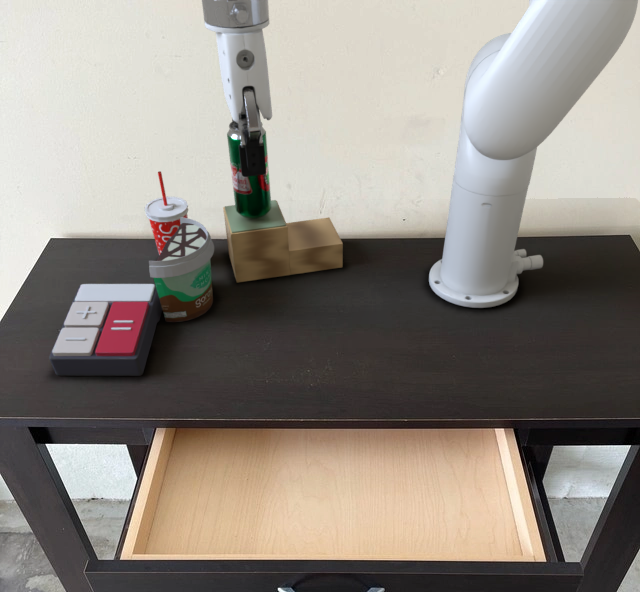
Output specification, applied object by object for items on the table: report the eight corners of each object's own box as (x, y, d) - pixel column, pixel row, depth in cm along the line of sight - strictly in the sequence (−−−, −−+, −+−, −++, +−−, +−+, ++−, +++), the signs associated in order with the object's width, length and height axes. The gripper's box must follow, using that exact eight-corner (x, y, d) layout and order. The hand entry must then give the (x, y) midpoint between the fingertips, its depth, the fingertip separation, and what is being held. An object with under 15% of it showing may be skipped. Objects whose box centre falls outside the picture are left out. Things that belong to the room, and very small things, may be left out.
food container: (205, 333, 88) (194, 268, 80) (161, 328, 89) (146, 263, 81) (232, 282, 96) (224, 218, 89) (192, 277, 97) (181, 215, 90)
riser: (329, 240, 104) (329, 192, 98) (342, 267, 98) (343, 217, 93) (229, 254, 101) (222, 205, 96) (236, 282, 96) (230, 232, 90)
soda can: (229, 210, 94) (218, 123, 85) (258, 199, 96) (251, 113, 87) (248, 223, 91) (239, 135, 82) (278, 212, 93) (273, 125, 84)
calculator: (45, 354, 79) (77, 279, 89) (56, 379, 82) (86, 304, 92) (136, 354, 79) (158, 278, 89) (143, 379, 82) (164, 304, 92)
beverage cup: (150, 270, 99) (129, 180, 89) (165, 249, 103) (147, 160, 93) (188, 274, 98) (172, 184, 88) (202, 253, 102) (188, 164, 92)
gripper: (282, 27, 70) (290, 190, 83) (255, -11, 82) (266, 137, 95) (212, 33, 69) (231, 197, 82) (195, -6, 81) (214, 143, 94)
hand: (250, 164), depth 88 cm, fingers closed on soda can, 5 cm apart
